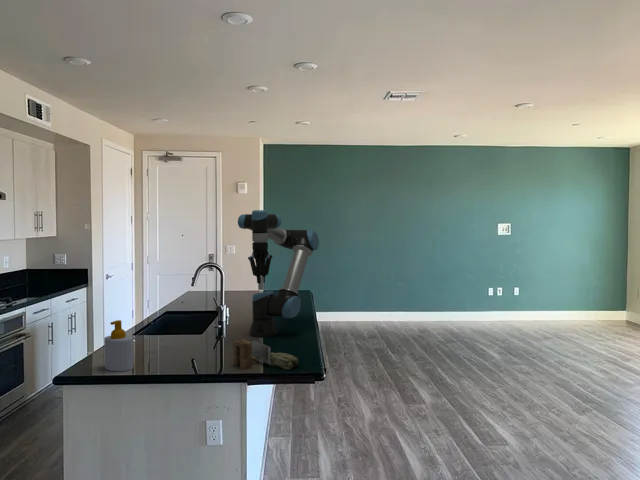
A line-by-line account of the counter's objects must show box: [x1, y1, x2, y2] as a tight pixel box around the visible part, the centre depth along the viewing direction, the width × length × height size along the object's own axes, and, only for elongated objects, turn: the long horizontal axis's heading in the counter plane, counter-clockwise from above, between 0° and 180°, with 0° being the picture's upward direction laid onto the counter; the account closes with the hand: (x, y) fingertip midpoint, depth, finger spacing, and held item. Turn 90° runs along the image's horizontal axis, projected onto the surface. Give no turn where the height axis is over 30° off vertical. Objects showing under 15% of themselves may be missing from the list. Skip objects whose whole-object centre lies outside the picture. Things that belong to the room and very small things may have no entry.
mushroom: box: [268, 351, 299, 371], centre depth 195 cm, size 14×10×5 cm, turn 54°
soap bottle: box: [103, 319, 134, 372], centre depth 192 cm, size 13×8×20 cm, turn 69°
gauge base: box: [233, 338, 256, 370], centre depth 199 cm, size 12×12×10 cm
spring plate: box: [239, 340, 272, 365], centre depth 196 cm, size 10×14×7 cm
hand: (261, 289), depth 223 cm, fingers closed
